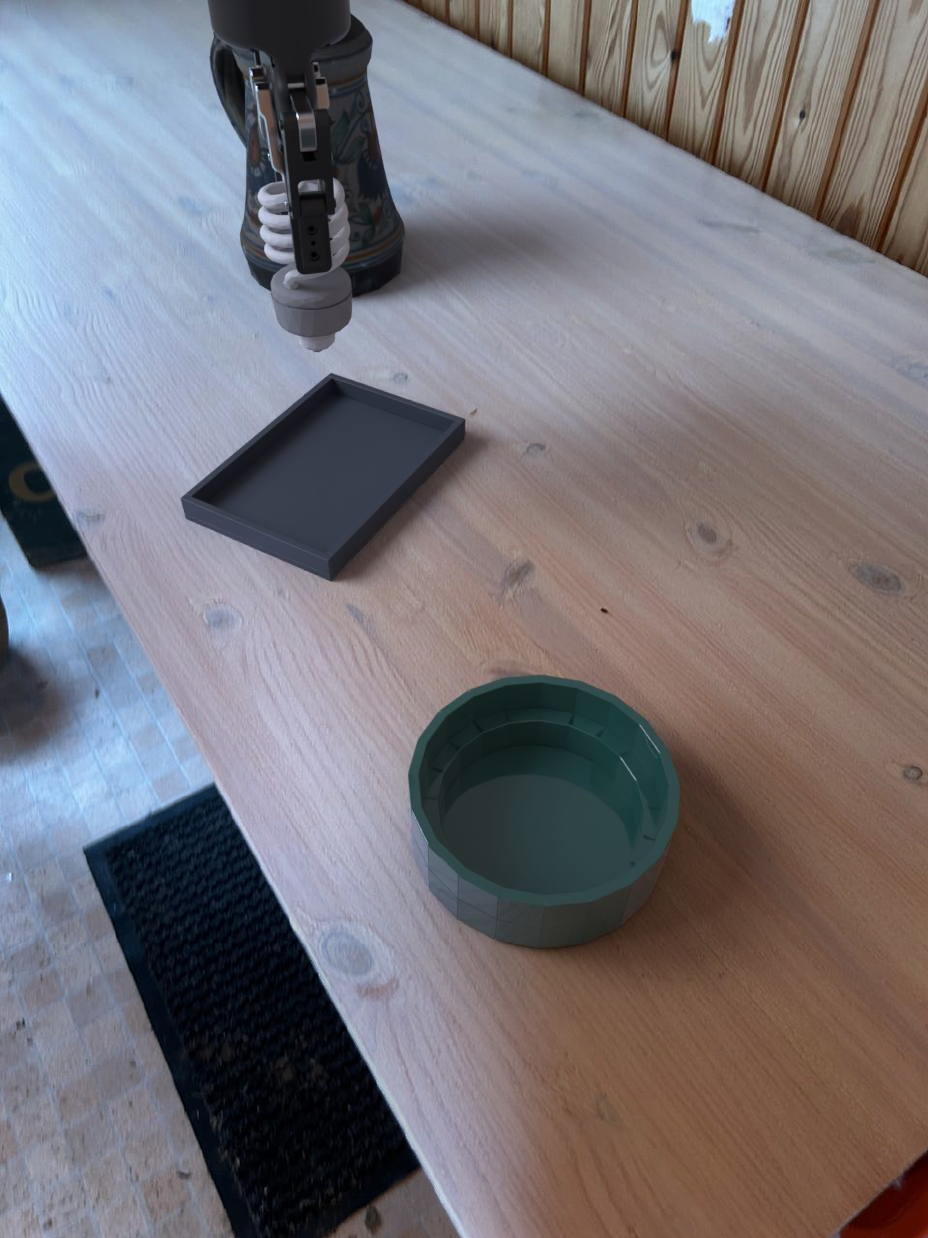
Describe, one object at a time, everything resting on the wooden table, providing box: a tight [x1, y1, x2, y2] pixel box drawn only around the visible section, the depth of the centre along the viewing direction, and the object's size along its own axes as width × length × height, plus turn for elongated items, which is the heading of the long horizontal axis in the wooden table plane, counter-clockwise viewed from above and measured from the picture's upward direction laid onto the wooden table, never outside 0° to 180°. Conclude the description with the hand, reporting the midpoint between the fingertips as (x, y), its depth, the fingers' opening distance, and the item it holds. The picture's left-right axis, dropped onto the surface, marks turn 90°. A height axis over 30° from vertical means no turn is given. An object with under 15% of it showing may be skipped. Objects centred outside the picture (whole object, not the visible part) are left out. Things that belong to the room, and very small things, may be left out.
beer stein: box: [209, 12, 406, 298], centre depth 90 cm, size 16×19×25 cm
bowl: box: [407, 674, 681, 949], centre depth 53 cm, size 14×14×5 cm
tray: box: [180, 372, 466, 582], centre depth 75 cm, size 19×13×2 cm
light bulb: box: [258, 178, 353, 353], centre depth 63 cm, size 6×6×12 cm
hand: (306, 246), depth 62 cm, fingers closed on light bulb, 5 cm apart
